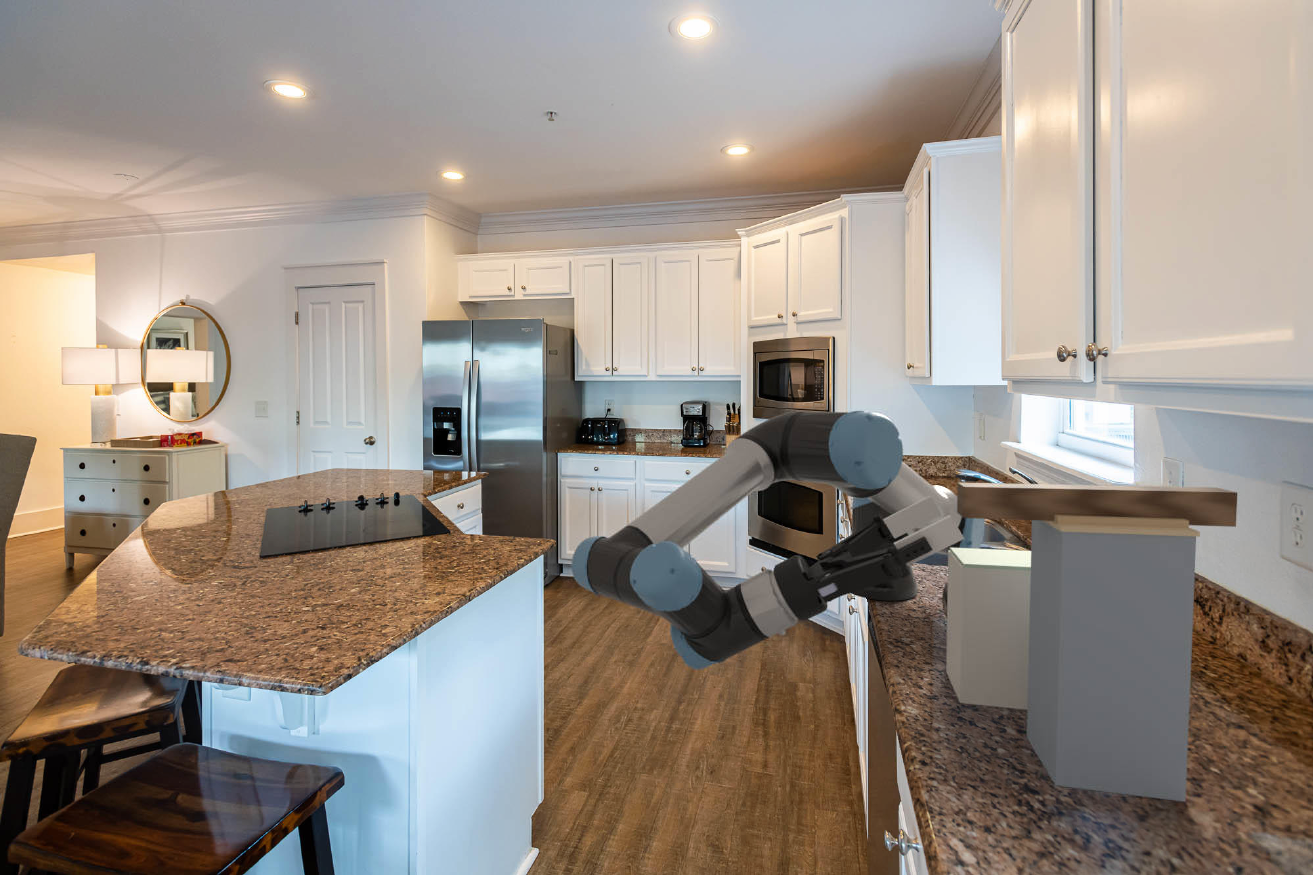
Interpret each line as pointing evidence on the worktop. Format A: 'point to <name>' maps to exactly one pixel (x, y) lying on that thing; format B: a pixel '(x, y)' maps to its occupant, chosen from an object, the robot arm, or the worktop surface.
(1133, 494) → the walnut block
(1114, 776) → the pillar
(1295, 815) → the worktop surface
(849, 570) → the robot arm
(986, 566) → the felt block
